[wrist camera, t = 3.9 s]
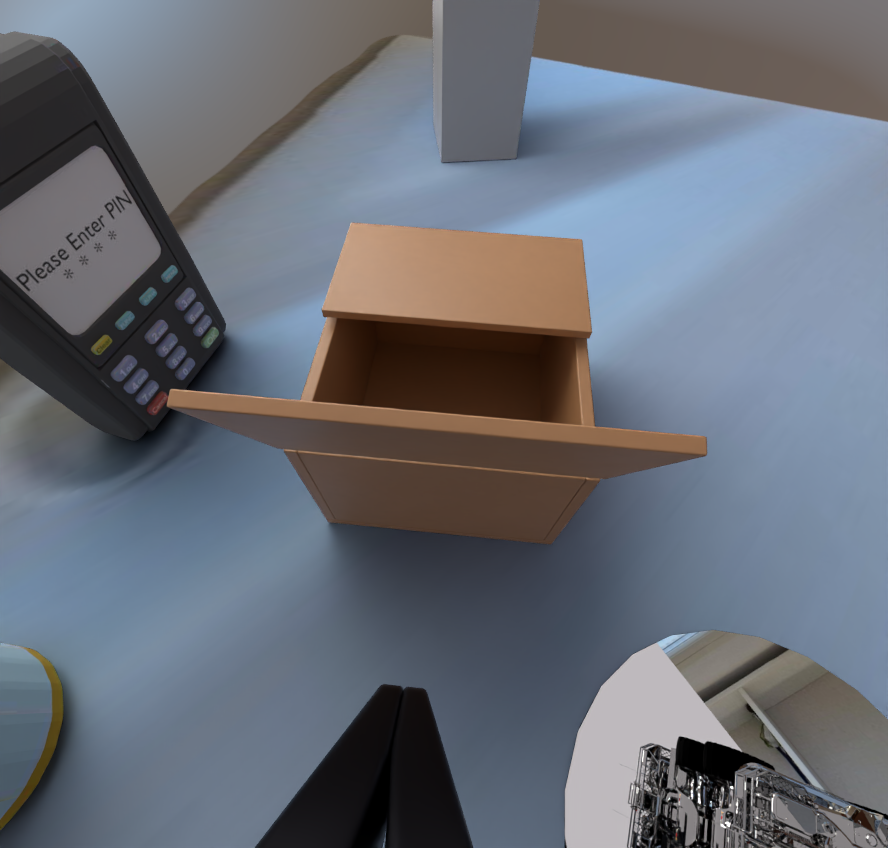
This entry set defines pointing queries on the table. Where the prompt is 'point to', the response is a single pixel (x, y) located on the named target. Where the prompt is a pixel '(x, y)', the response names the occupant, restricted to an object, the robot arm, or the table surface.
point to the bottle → (26, 723)
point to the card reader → (89, 252)
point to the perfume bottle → (480, 76)
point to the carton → (452, 373)
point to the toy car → (727, 752)
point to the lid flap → (439, 436)
